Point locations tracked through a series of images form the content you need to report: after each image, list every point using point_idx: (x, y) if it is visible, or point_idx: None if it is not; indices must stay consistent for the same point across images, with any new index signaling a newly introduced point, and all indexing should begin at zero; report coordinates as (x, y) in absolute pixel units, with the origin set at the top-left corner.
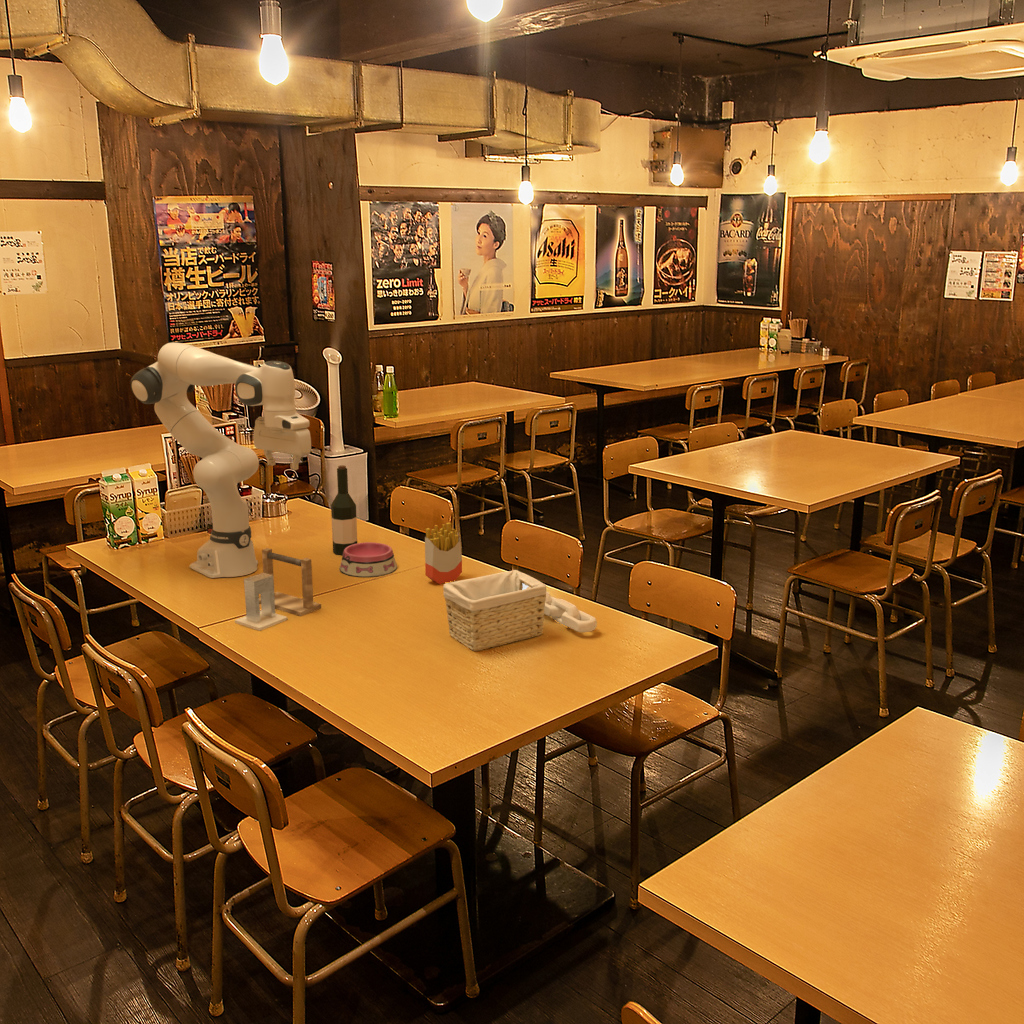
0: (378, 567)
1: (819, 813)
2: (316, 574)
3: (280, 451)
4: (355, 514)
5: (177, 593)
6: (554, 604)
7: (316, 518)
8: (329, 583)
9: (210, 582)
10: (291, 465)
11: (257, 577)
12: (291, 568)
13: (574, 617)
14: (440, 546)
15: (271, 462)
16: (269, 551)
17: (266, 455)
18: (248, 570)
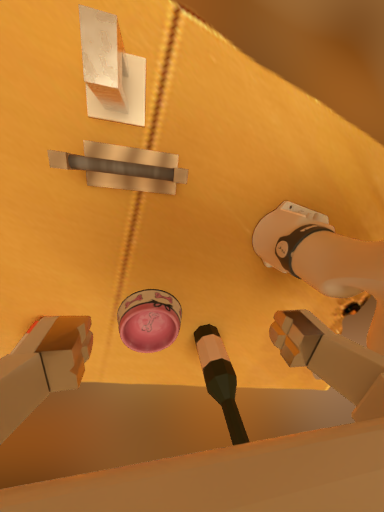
0: (121, 312)
1: None
2: (186, 273)
3: (183, 479)
4: (204, 378)
5: (293, 132)
6: None
7: (285, 374)
8: (151, 260)
9: (278, 189)
10: (60, 337)
11: (100, 45)
12: (223, 273)
13: None
14: None
15: (290, 326)
16: (173, 175)
17: (367, 356)
18: (256, 235)
